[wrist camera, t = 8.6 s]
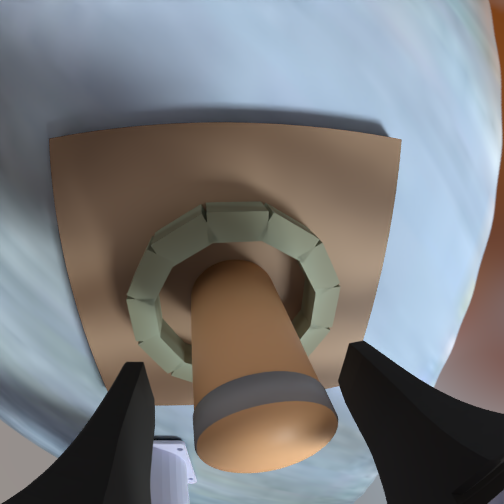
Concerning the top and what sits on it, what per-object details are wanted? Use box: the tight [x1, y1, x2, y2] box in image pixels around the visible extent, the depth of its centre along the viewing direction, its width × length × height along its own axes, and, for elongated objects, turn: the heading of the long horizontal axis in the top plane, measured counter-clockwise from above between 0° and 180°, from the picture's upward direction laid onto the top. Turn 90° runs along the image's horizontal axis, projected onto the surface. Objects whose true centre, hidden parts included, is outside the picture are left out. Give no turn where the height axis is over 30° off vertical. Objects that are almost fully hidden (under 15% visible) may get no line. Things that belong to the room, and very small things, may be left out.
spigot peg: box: [191, 260, 338, 473], centre depth 11 cm, size 4×4×8 cm
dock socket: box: [49, 122, 402, 405], centre depth 14 cm, size 16×16×2 cm
